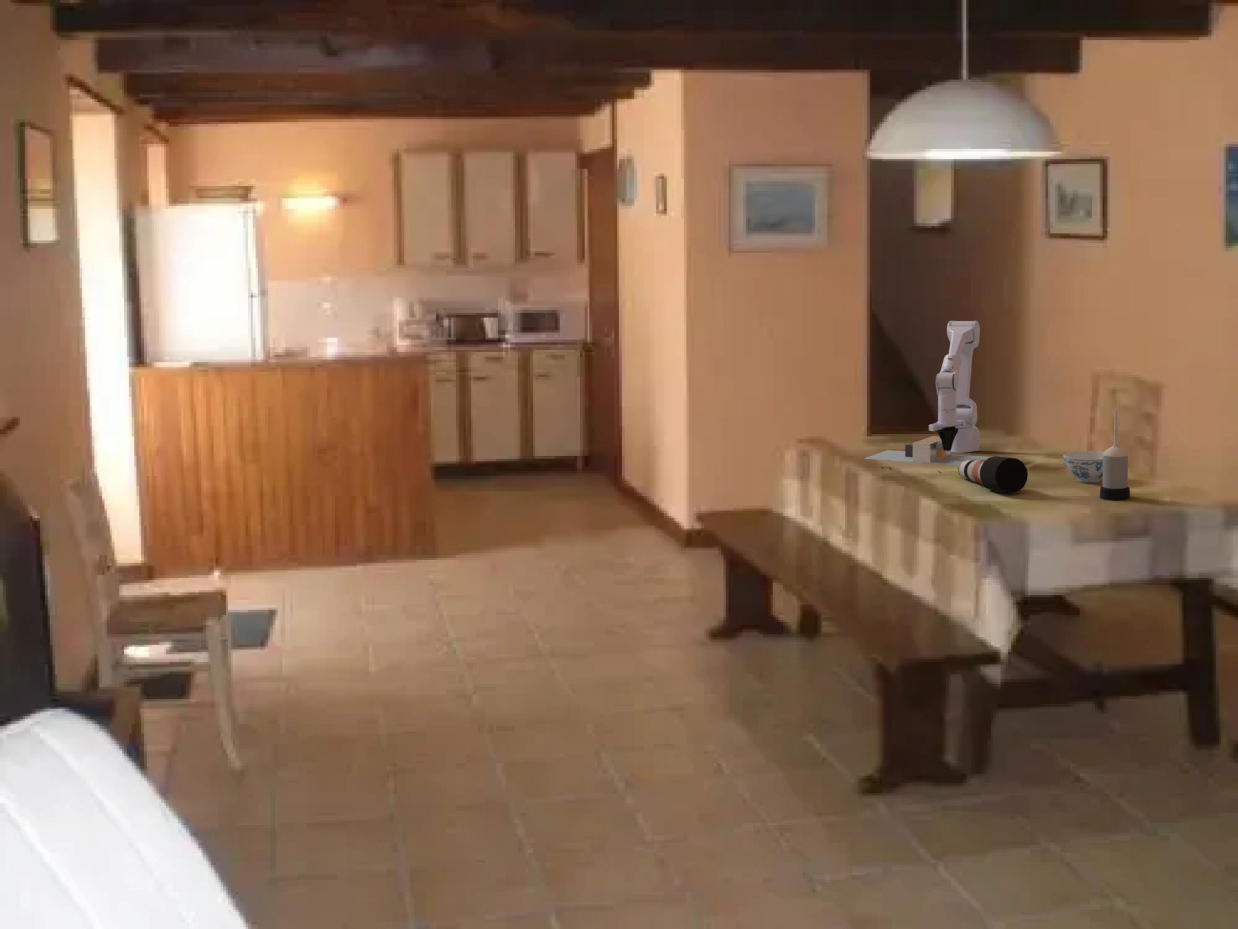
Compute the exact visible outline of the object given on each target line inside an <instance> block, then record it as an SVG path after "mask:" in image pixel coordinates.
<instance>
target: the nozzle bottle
mask: <svg viewBox="0 0 1238 929" xmlns="http://www.w3.org/2000/svg"><path fill="white" fill-rule="evenodd" d="M1113 424H1114V429H1113V430H1114V431H1113V445H1112V446H1110V447H1109V448H1107V449H1106V450H1105V451H1103V452H1104V454H1103V477H1102V485H1101V487H1100V488H1099V498H1100V499H1101V500H1104V501H1115V502H1116V501H1127V500H1130V498H1131V488H1130V487H1129V486H1128V482H1129V480H1128V479H1129V478H1128V476H1129V471H1128V470H1129V456H1128V455H1129V454H1128V453H1127V451H1126V450H1125V449H1124V447H1121V446H1119V442H1120V433H1118V432H1119V429H1120V427H1119V426H1120V422H1118V409H1114V421H1113Z"/></svg>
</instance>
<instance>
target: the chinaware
mask: <svg viewBox="0 0 1238 929" xmlns="http://www.w3.org/2000/svg"><path fill="white" fill-rule="evenodd" d="M1104 452H1105V451H1100V450H1083V451H1082V450H1080V451H1078V450H1077V451H1070V452H1065V453H1064V454H1063V460H1064V464H1065V467H1066V468H1067V470H1068V471H1069V472H1070V473H1071V474H1072V475H1073V476H1075V477H1076V478H1077V482H1080V483H1100V482H1101V481H1102V479H1103V454H1104Z"/></svg>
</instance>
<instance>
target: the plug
mask: <svg viewBox="0 0 1238 929" xmlns="http://www.w3.org/2000/svg"><path fill="white" fill-rule="evenodd" d="M913 443H914V442H909V443H906V444H904V451H905V457H913ZM936 458H937V459H944V458H946V451H945V450H944V449H937V453H936Z"/></svg>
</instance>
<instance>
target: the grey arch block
mask: <svg viewBox="0 0 1238 929" xmlns="http://www.w3.org/2000/svg"><path fill="white" fill-rule="evenodd" d="M912 443H913V461H914V462H913V463H917V462H928V463H927V464H931V463H930V462H933V461H936V453H937V449H943V445H942V441H941V439H940V437H939V435H931V436H929V437H927V438H924V439H921V440H918V441H915V442H912ZM950 454H951V451H946V456H949V455H950Z"/></svg>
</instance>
